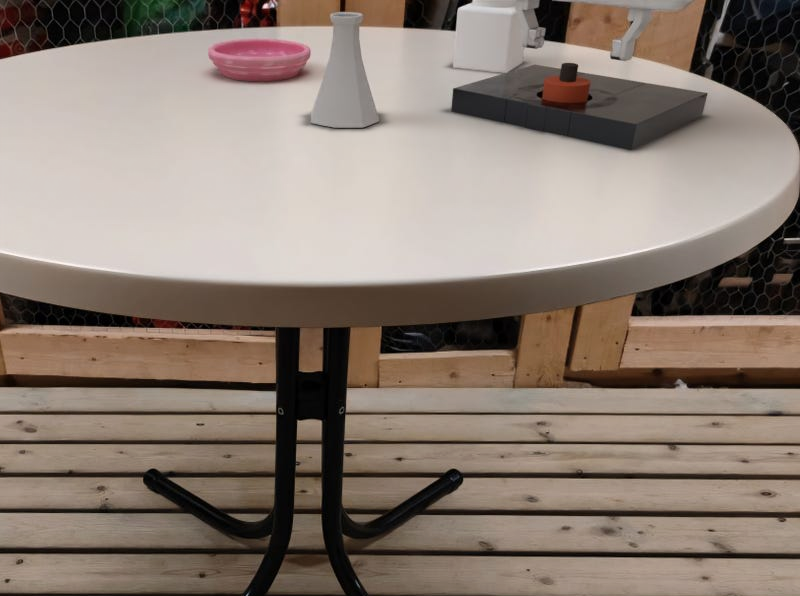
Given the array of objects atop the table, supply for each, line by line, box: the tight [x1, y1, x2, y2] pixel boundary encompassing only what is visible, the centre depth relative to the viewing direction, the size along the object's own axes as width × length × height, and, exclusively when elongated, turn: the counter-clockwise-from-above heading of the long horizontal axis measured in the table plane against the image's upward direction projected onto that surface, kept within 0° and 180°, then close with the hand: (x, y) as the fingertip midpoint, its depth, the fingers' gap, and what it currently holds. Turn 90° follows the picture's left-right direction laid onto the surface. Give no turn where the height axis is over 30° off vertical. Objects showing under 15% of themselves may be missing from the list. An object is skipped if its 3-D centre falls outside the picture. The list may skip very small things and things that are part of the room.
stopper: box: [542, 62, 590, 103], centre depth 83 cm, size 4×4×6 cm
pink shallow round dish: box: [207, 38, 311, 82], centre depth 102 cm, size 12×12×3 cm
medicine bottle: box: [452, 0, 525, 74], centre depth 103 cm, size 7×7×12 cm
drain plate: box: [450, 64, 708, 151], centre depth 86 cm, size 20×16×2 cm
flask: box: [310, 11, 380, 129], centre depth 82 cm, size 7×7×10 cm
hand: (575, 53), depth 81 cm, fingers open, 8 cm apart
